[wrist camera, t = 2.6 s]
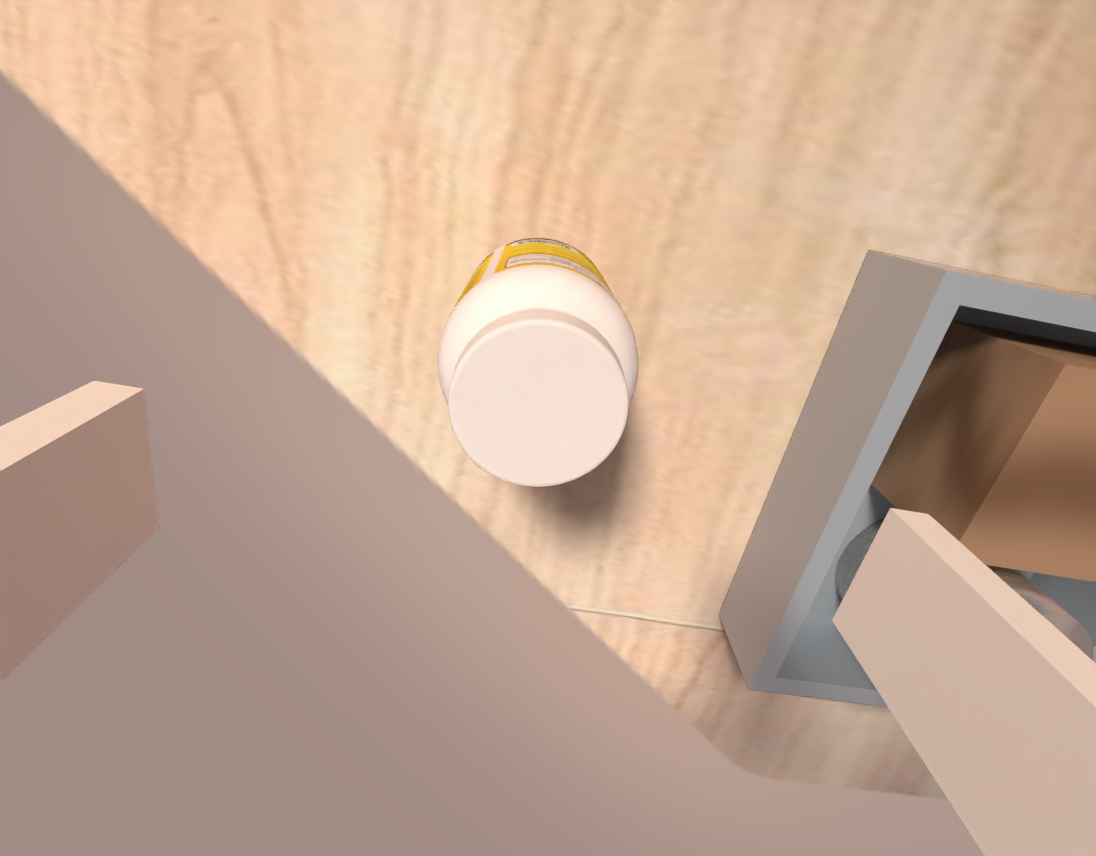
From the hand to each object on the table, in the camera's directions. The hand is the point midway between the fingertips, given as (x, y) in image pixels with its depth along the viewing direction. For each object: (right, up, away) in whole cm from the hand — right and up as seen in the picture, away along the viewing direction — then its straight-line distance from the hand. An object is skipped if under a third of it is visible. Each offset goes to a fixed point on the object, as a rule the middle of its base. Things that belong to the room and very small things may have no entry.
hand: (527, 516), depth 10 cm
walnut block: (+20, +2, +16) cm, 26 cm away
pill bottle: (0, +7, +14) cm, 16 cm away
